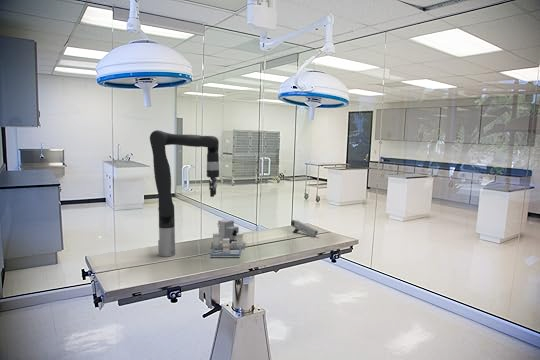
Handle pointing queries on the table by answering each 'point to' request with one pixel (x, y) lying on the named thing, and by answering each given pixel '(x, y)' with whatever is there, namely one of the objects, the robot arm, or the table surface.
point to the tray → (225, 254)
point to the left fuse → (216, 240)
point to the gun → (303, 228)
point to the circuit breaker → (227, 230)
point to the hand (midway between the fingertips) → (213, 195)
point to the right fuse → (239, 240)
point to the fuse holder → (229, 245)
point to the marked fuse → (226, 246)
